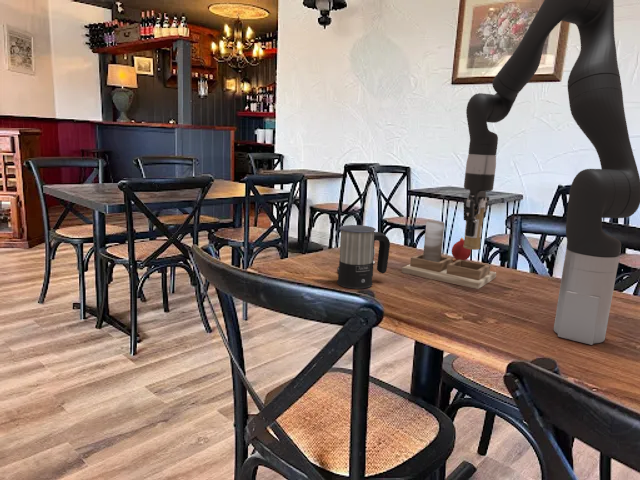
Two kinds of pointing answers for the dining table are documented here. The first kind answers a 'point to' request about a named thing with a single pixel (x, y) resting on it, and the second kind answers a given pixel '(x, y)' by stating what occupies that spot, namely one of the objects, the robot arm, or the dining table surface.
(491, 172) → the robot arm
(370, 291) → the dining table surface
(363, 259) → the milk frother
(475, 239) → the sprinkles bottle
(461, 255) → the onion
